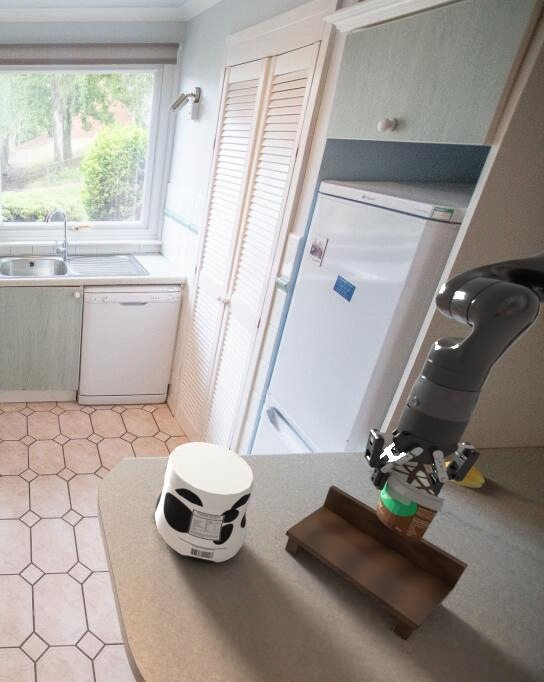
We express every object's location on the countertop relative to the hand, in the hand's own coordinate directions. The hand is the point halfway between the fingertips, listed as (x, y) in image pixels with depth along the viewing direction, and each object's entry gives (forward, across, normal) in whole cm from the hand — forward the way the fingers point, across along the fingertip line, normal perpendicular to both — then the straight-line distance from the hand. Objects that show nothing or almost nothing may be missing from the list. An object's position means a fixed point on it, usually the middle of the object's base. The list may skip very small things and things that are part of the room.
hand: (401, 490), depth 75 cm
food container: (+6, 0, 0) cm, 6 cm away
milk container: (+22, +29, -2) cm, 37 cm away
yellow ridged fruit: (+22, -32, -37) cm, 53 cm away
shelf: (+22, 0, -1) cm, 22 cm away
